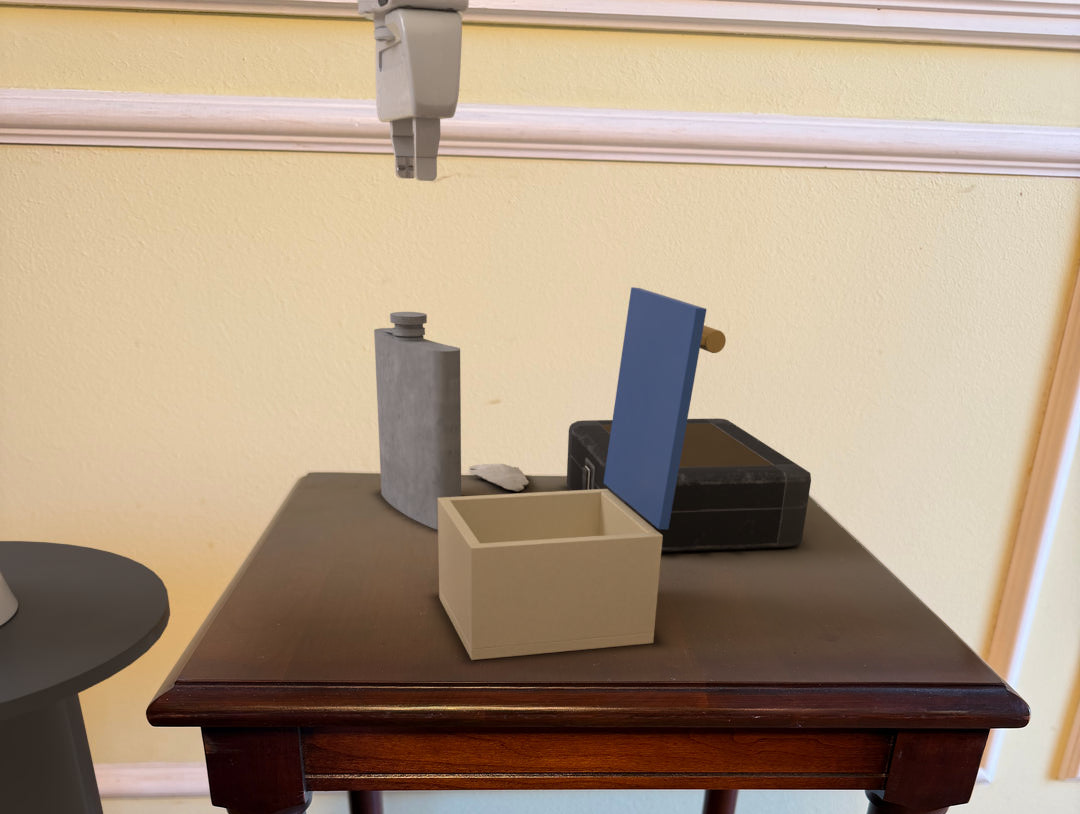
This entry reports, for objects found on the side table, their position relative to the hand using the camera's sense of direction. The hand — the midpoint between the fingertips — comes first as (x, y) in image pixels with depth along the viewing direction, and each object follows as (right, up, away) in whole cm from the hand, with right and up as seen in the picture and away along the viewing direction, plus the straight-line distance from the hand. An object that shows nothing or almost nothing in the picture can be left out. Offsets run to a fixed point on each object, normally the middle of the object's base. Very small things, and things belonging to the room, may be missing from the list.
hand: (415, 179), depth 93 cm
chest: (+12, -41, -8) cm, 43 cm away
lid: (+19, -25, -14) cm, 35 cm away
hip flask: (-2, -27, +18) cm, 32 cm away
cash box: (+26, -27, +19) cm, 42 cm away
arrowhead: (+7, -21, +28) cm, 36 cm away
